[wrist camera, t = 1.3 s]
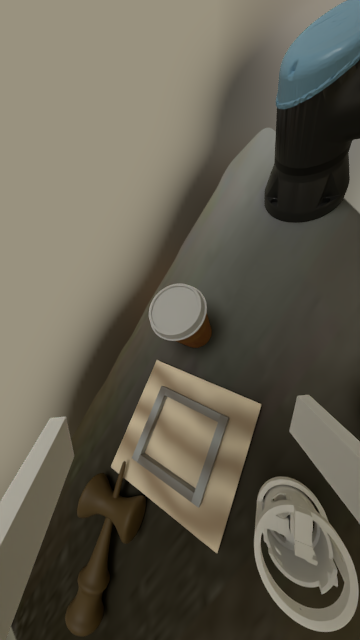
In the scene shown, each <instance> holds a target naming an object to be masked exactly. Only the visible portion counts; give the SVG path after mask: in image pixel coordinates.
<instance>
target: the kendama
mask: <svg viewBox="0 0 360 640" xmlns="http://www.w3.org/2000/svg"><path fill="white" fill-rule="evenodd" d="M125 467H126V462H125V461H124V462H123V463H122V466H121V469H120V472H119V475H118V479H117V482H116V486H115V489H114V491H113V490H112V489H111V486H110V484H109V481H108V478H107V476H106V475H105V474H104V473H100V474H97V475H96V476H94V477H93V478H92V479H91V480H90V481H89V483H88V484H87V485H86V487H85V489H84V490H83V492H82V495H81V497H80V500H79V503H78V508H77V514H78V517H80V518H87V517H90V516H93V515H96V514H101V515H103V516H105V517H106V518H105V521H104V524H103V527H102V530H101V533H100V535H99V538H98V541H97V543H96V546H95V549H94V551H93V554H92V556H91V558H90V560H89V563H88V564H87V565H86V566H85V567H83V569H82V570H81V571H80V573H79V576H78V584H79V589H78V592H77V595H76V597H75V598H74V599H73V600H72V602H71V603H70V605H69V606H68V608H67V612H66V615H65V620H66V625H67V627H68V628H69V630H70V631H71V633H73V634H75V635H76V636H87V635H89V634H91V633H93V632H94V631H95V630H96V629H97V627H98V626H99V624H100V622H101V620H102V618H103V613H104V606H103V603H102V593H103V591H104V590H105V589H106V587H107V585H108V583H109V581H110V573H109V571H108V569H107V562H108V553H109V545H110V539H111V533H112V527H113V524H114V525H115V527H116V529H117V532H118V534H119V537H120V539H121V541H122V542H123V543H126V544H128V543H129V542H130V541H131V540H132V539H133V538H134V537H135V535H136V534H137V532H138V530H139V528H140V525H141V523H142V520H143V517H144V513H145V508H146V498H145V497H144V496H143V495H139V496H134V497H129V498H125V497H122V496H120V495H119V494H120V489H121V485H122V481H123V476H124V472H125Z"/></svg>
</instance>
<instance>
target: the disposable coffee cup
mask: <svg viewBox="0 0 360 640" xmlns="http://www.w3.org/2000/svg"><path fill="white" fill-rule="evenodd" d="M149 319H150V323H151V326H152V329H153V330H154V332H155V333H156V334H157V335H158V336H159V337H161V338H163V339H165V340H169V341H176V342H179V343H181V344H184V345H187V346H189V347H192V348H198V347H201V346H203V345H205V344H206V343H207V342H208V341H209V339H210V337H211V333H212V330H211V326H210V323H209V319H208V316H207V305H206V300H205V298H204V296H203V295H202V293H201V292H200V291H199V290H198V289H196V288H194V287H192V286H189V285H186V284H173V285H170V286H167V287H165V288H164V289H162V290H161V291H160V292H159V293H158V294H157V295H156V296H155V297H154V299H153V301H152V302H151V305H150V308H149Z"/></svg>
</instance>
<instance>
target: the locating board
mask: <svg viewBox="0 0 360 640" xmlns="http://www.w3.org/2000/svg"><path fill="white" fill-rule="evenodd" d="M261 405H262V404H260V403H257V402H255V401H253V400H250V399H248V398H245V397H243V396H241V395H238V394H236V393H234V392H231V391H229V390H227V389H224V388H222V387H219V386H217V385H215V384H212V383H210V382H208V381H205V380H203V379H200V378H198V377H196V376H193V375H191V374H189V373H186V372H184V371H181V370H179V369H177V368H174V367H172V366H170V365H167V364H165V363H163V362H160V361H158V360H157V361H156V363H155V366H154V368H153V370H152V373H151V375H150V377H149V379H148V382H147V384H146V386H145V389H144V391H143V393H142V396H141V398H140V400H139V403H138V405H137V407H136V410H135V412H134V414H133V417H132V419H131V421H130V423H129V426H128V428H127V430H126V433H125V435H124V437H123V440H122V442H121V444H120V447H119V449H118V451H117V454H116V456H115V458H114V461H113V463H112V465H111V468H113V469H114V470H115V471H116V472H118V473H119V472H120V469H121V466H122V463H123V462H124V461H125V462H126V467H125V472H124V476H123V477H124V478H125V479H126V480H127V481H129V482H130V483H131V484H132V485H133V486H135V487H136V488H137V489H138V490H140V491H141V492H142V493H143V494H145V495H146V496H147V497H148V498H149V499H151V500H152V501H153V502H154V503H156V504H157V505H158V506H159V507H160V508H162V509H163V510H164V511H165V512H167V513H168V514H169V515H170V516H171V517H173V518H174V519H175V520H176V521H178V522H179V523H180V524H181V525H183V526H184V527H185V528H186V529H187V530H189V531H190V532H191V533H192V534H194V535H195V536H196V537H197V538H198V539H200V540H201V541H202V542H203V543H205V544H206V545H207V546H208V547H209V548H211V549H212V550H213V551H214V552H216V553H218V549H219V546H220V543H221V539H222V536H223V533H224V529H225V526H226V523H227V519H228V516H229V513H230V509H231V506H232V502H233V499H234V496H235V492H236V489H237V486H238V482H239V479H240V476H241V472H242V469H243V465H244V462H245V459H246V455H247V452H248V449H249V445H250V442H251V439H252V435H253V432H254V428H255V425H256V422H257V418H258V415H259V412H260V408H261Z"/></svg>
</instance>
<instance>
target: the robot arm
mask: <svg viewBox="0 0 360 640" xmlns="http://www.w3.org/2000/svg"><path fill="white" fill-rule="evenodd" d="M276 106H277V122H276V143H275V163H274V166H273V169H272V172H271V175H270V177H269V180H268V183H267V186H266V189H265V207H266V209H267V211H268V212H269V213H270V214H271V215H272V216H273V217H275V218H277V219H280V220H283V221H288V222H303V221H309V220H313V219H316V218H319V217H321V216H323V215H325V214H327V213H329V212H330V211H332V210H333V209H334V208H336V207H337V206H338V205H339V204H340V202H341V201H342V199H343V198H344V195H345V193H346V190H347V188H348V184H349V157H348V152H349V148H350V145H351V142H352V140H354V139H359V138H360V0H347V1H345V2H343V3H341V4H339V5H338V6H336V7H335V8H333V9H331V10H330V11H328V12H327V13H325V14H324V15H323V16H321V17H320V18H318V19H317V20H316V21H315V22H314V23H312V24H311V25H310V26H309V27H307V28H306V29H305V30H304V31H303V32H302V33H301V34H300V35H299V36H298V37H297V39H296V40H295V41H294V42H293V43H292V45H291V46H290V47H289V49H288V51H287V52H286V54H285V56H284V58H283V61H282V64H281V68H280V73H279V84H278V94H277V97H276ZM289 432H290V433H291V434H292V436H293V437H294V438H295V440H296V441H297V442H298V443H299V445H300V446H301V447H302V449H303V450H304V451H305V453H306V454H307V455H308V457H309V458H310V459H311V461H312V462H313V463H314V464H315V466H316V467H317V468H318V470H319V471H320V472H321V474H322V475H323V476H324V478H325V479H326V480H327V482H328V483H329V484H330V485H331V487H332V488H333V489H334V491H335V492H336V493H337V495H338V496H339V497H340V499H341V500H342V501H343V503H344V504H345V505H346V506H347V508H348V509H349V510H350V512H351V513H352V514H353V516H354V517H355V518H356V520H357V521H358V522H359V524H360V441H359V440H358V439H356V438H355V437H354V436H353V435H352V434H351V433H350V432H349V431H348V430H347V429H346V428H344V427H343V426H342V425H341V424H340V423H339V422H338V421H337V420H336V419H335V418H334V417H333V416H331V415H330V414H329V413H328V412H327V411H326V410H325V409H324V408H323V407H322V406H321V405H319V404H318V403H317V402H316V401H315V400H314V399H313V398H312V397H311V396H310V395H301V396H297V399H296V404H295V408H294V412H293V417H292V421H291V426H290V430H289ZM73 458H74V452H73V447H72V443H71V438H70V434H69V429H68V424H67V419H66V417H57V418H50V419H49V421H48V423H47V424H46V426H45V428H44V429H43V431H42V433H41V435H40V436H39V438H38V439H37V441H36V443H35V444H34V446H33V448H32V449H31V451H30V453H29V454H28V456H27V458H26V459H25V461H24V463H23V465H22V466H21V468H20V470H19V471H18V473H17V474H16V476H15V478H14V479H13V481H12V483H11V484H10V486H9V488H8V489H7V491H6V493H5V495H4V496H3V498H2V500H1V501H0V640H6V638H7V635H8V632H9V630H10V627H11V624H12V622H13V619H14V616H15V613H16V611H17V608H18V605H19V603H20V600H21V597H22V595H23V592H24V589H25V587H26V584H27V581H28V579H29V576H30V573H31V571H32V568H33V565H34V562H35V560H36V557H37V554H38V552H39V549H40V546H41V544H42V541H43V538H44V536H45V533H46V530H47V528H48V525H49V522H50V519H51V517H52V514H53V511H54V509H55V506H56V503H57V501H58V498H59V495H60V493H61V490H62V487H63V485H64V482H65V479H66V476H67V474H68V471H69V468H70V466H71V463H72V460H73Z"/></svg>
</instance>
